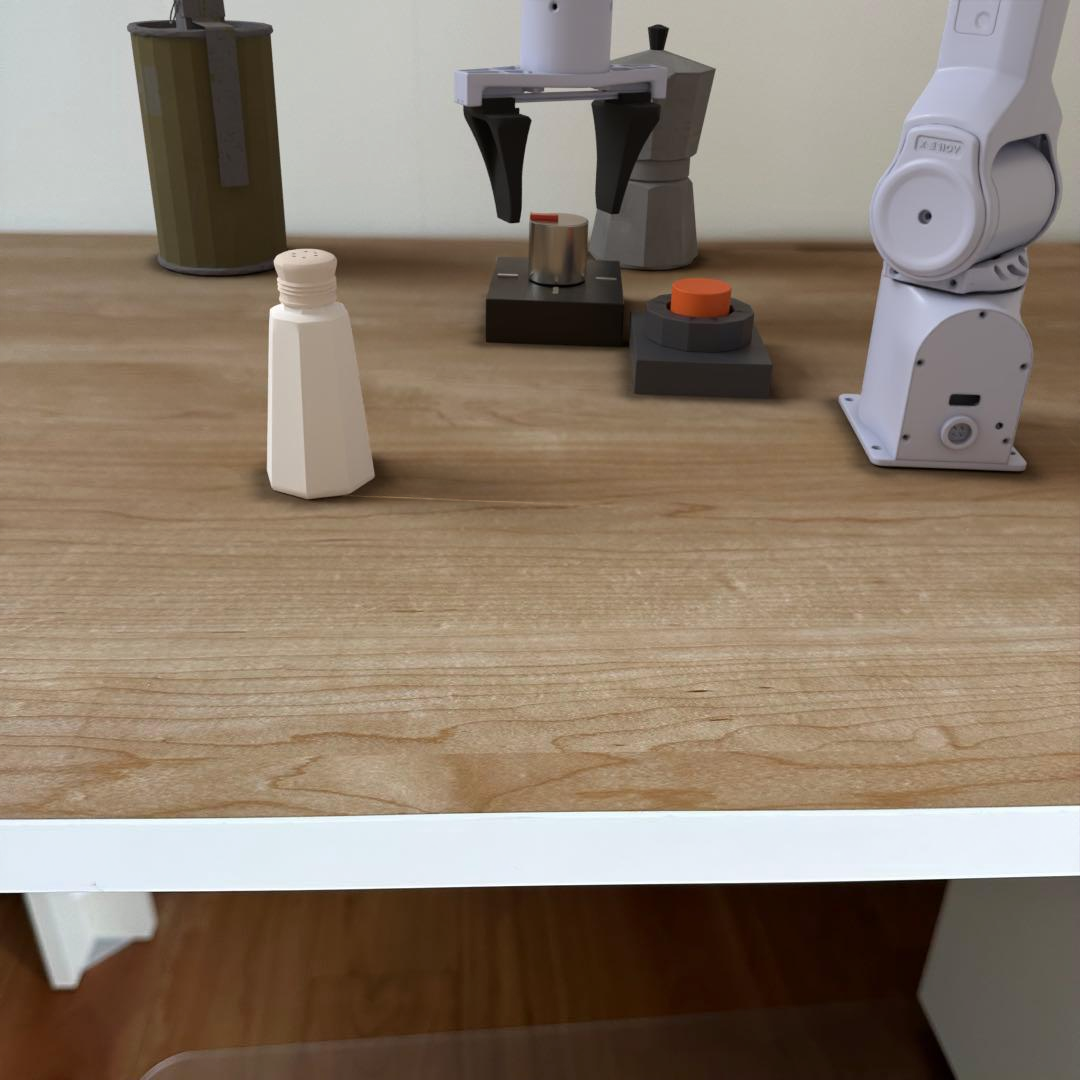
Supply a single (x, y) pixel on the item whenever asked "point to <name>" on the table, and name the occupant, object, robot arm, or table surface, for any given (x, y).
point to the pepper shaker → (314, 384)
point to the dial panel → (555, 307)
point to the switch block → (698, 353)
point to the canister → (211, 139)
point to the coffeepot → (660, 171)
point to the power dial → (557, 248)
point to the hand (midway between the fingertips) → (559, 215)
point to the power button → (701, 297)
